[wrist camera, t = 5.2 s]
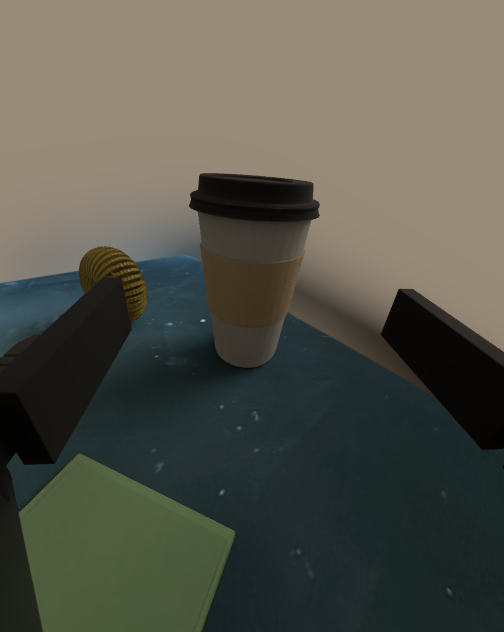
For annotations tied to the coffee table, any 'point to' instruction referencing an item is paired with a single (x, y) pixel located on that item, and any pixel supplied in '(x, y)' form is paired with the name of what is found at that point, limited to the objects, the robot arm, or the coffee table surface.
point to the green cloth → (119, 555)
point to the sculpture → (118, 268)
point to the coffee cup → (251, 258)
